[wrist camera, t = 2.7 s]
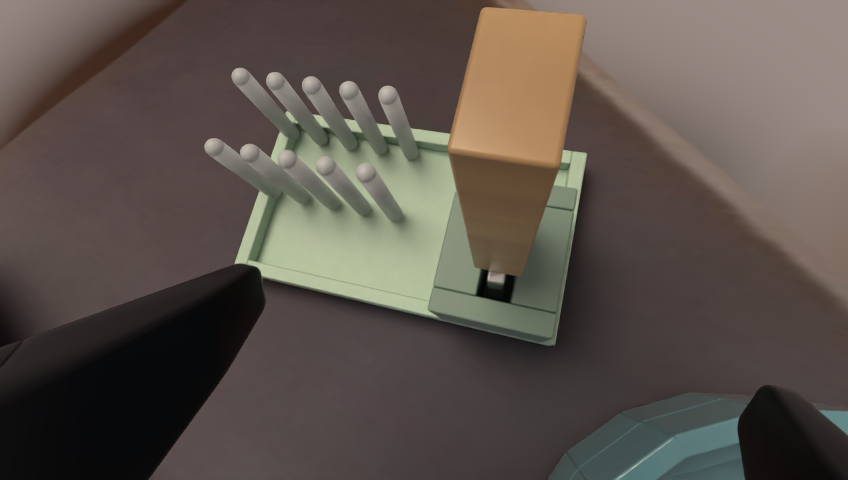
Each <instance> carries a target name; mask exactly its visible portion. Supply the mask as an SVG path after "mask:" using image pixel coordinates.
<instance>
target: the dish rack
mask: <svg viewBox="0 0 848 480" xmlns="http://www.w3.org/2000/svg"><path fill="white" fill-rule="evenodd" d="M232 80H233V82H234V83H235V85H236V86H237V87H238V88H239V89H240V90H241V91H242V92H243V93H244V94H245V95H246V96H247V97H248V98H249V99H250V100H251V101H252V102H253V103H254V104H255V105H256V106H257V107H258V109H259V110H260V111H261V112H262V113H263V114H264V115H265V116H266V117H267V118H268V119H269V120H270V121H271V122H272V123H273V124H274V125H275V126H276V127H277V128H278V129H279V130H280V132H279V135H278V138H277V141H276V144H275V147H274V150H273V153H272V156H271V158H270V157H268V156H267V155H266V154H265V153H264V152H263V151H262V150H260V149H259V148H258V147H257V146H255V145H253V144H247V145H244V146H243V147H242V148H241V151H240V155H241V156H240V155H239V154H238V153H236V152H235V151H234V150H233V149H231V148H230V147H229V146H228V145H226V144H225V143H224V142H222V141H221V140H219V139H217V138H211V139H209V140H208V141H207V142H206V143H205V151H206V153H207V154H208V155H210V156H211V157H212V158H214V159H215V160H217V161H218V162H220V163H221V164H222V165H224V166H225V167H227V168H228V169H230V170H231V171H232V172H234V173H235V174H237V175H238V176H240V177H241V178H242V179H244V180H245V181H247V182H248V183H250V184H251V185H252V186H254V187H255V188H257V189H258V190H260V191H259V194H258V197H257V199H256V202H255V205H254V208H253V211H252V214H251V217H250V220H249V223H248V226H247V229H246V232H245V235H244V237H243V240H242V243H241V246H240V249H239V252H238V255H237V258H236V261H235V264H238V263H243V264H247V265H252V266H255V267H257V268H259V270H260V271H261V275H262V279H266V280H271V281H275V282H279V283H283V284H288V285H292V286H296V287H300V288H305V289H309V290H313V291H317V292H322V293H326V294H330V295H334V296H339V297H343V298H347V299H351V300H355V301H360V302H364V303H368V304H372V305H377V306H381V307H385V308H389V309H394V310H398V311H402V312H406V313H411V314H415V315H419V316H423V317H428V318H432V319H436V320H440V321H445V322H449V323H453V324H457V325H462V326H466V327H470V328H474V329H479V330H483V331H487V332H491V333H496V334H500V335H504V336H508V337H513V338H517V339H521V340H525V341H530V342H534V343H538V344H542V345H547V346H552V345H555V343H556V337H557V331H558V325H559V319H560V313H561V307H562V301H563V295H564V289H565V283H566V277H567V271H568V265H569V259H570V254H571V248H572V242H573V236H574V230H575V224H576V218H577V212H578V206H579V200H580V194H581V188H582V182H583V176H584V170H585V164H586V158H587V153H581V152H572V151H567V150H563V154H562V160H561V165H560V168H559V171H558V174H557V177H556V180H555V182H554V185H553V188H552V191H551V194H550V197H549V200H548V202H547V205H546V208H545V211H544V214H543V217H542V220H541V223H540V225H539V228H538V231H537V234H536V237H535V240H534V243H533V246H532V248H531V251H530V254H529V257H528V260H527V263H526V266H525V268H524V271H523V274H522V276H520V277H518V276H513V275H508V274H507V278H506V283H505V288H504V293H503V298H502V302H501V301H496V300H492V299H489V295H488V285H487V277H488V272H489V270H484V269H479V268H475V267H474V264H473V260H472V255H471V251H470V247H469V242H468V238H467V234H466V229H465V225H464V221H463V216H462V212H461V208H460V203H459V199H458V195H457V190H456V186H455V182H454V177H453V173H452V169H451V164H450V160H449V156H448V151H447V146H448V142H449V138H450V134H447V133H440V132H433V131H426V130H419V129H412V128H410V125H409V123H408V120H407V117H406V115H405V112H404V109H403V107H402V104H401V101H400V98H399V96H398V93H397V91H396V89H395V88H393V87H391V86H384V87H383V88H381V89H380V91H379V94H378V98H379V101H380V103H381V105H382V107H383V110H384V112H385V114H386V116H387V119H388V121H389V123H390V125H391V126H390V125H383V124H377V123H376V121H375V119H374V118H373V116H372V114H371V112H370V110H369V108H368V106H367V104H366V102H365V100H364V98H363V96H362V94H361V92H360V90H359V88H358V86H357V85H356V84H355V83H354V82H352V81H346V82H344V83H343V84H342V85H341V86H340V95H341V97H342V99H343V100H344V102H345V104H346V105H347V107H348V109H349V110H350V112H351V114H352V116H353V117H354V119H355V120H348V119H344V118H343V117H342V115H341V114H340V112H339V111H338V109H337V107H336V106H335V104H334V103H333V101H332V100H331V98H330V96H329V95H328V93H327V92H326V90H325V89H324V87H323V86H322V84H321V82H320V81H319V80H318V79H317V78H315V77H307V78H305V79H304V81H303V83H302V88H303V91H304V92H305V94H306V95H307V96H308V98H309V99H310V101H311V102H312V103H313V105H314V106H315V108H316V109H317V110H318V112H319V113H320V114H321V116H320V115H313V114H312V113H311V112H310V111H309V110H308V108H307V107H306V106H305V104H304V103H303V102H302V100H301V99H300V98H299V96H298V95H297V94H296V92H295V91H294V90H293V88H292V87H291V86H290V84H289V83H288V82H287V80H286V79H285V78H284V77H283V75H281V74H280V73H278V72H272V73H270V74H269V75H268V76H267V79H266V83H267V86H268V87H269V89H270V90H271V91H272V92H273V93H274V95H275V96H276V97H277V98H278V99H279V100H280V102H281V103H282V104H283V105H284V106H285V108H286V109H287V110H288V111H287V112H286V114H285V113H284V112H283V111H282V110H281V109H280V108H279V106H278V105H277V104H276V103H275V102H274V101H273V99H272V98H271V97H270V96H269V95H268V94H267V93H266V91H265V90H264V89H263V88H262V87H261V86H260V84H259V83H258V82H257V81H256V80H255V79H254V78H253V76H252V75H251V74H250V73H249V72H248V71H247V70H246V69H244V68H237V69H235V70H234V71H233V72H232Z"/></svg>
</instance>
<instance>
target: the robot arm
mask: <svg viewBox="0 0 848 480" xmlns="http://www.w3.org/2000/svg"><path fill="white" fill-rule="evenodd" d="M265 303H266V297H265V291H264V286H263V280H262V275H261V271H260V270H259V268H257V267H255V266H252V265H247V264H243V263H238V264H234V265H231V266H229V267H226V268H223V269H220V270H217V271H215V272H212V273H209V274H206V275H203V276H200V277H198V278H195V279H192V280H189V281H186V282H184V283H181V284H178V285H175V286H172V287H169V288H167V289H164V290H161V291H158V292H155V293H153V294H150V295H147V296H144V297H141V298H138V299H136V300H133V301H130V302H127V303H124V304H122V305H119V306H116V307H113V308H110V309H107V310H105V311H102V312H99V313H96V314H93V315H91V316H88V317H85V318H82V319H79V320H76V321H74V322H71V323H68V324H65V325H62V326H59V327H57V328H54V329H51V330H48V331H45V332H43V333H40V334H37V335H34V336H31V337H28V338H26V339H25V340H24V341H17V342H14V343H11V344H8V345H6V346H3V347H0V480H148V479H149V478H150V477H151V475H152V474H153V473H154V471H155V470H156V469H157V467H158V466H159V464H160V463H161V462H162V460H163V459H164V458H165V456H166V455H167V453H168V452H169V451H170V449H171V448H172V447H173V445H174V444H175V443H176V441H177V440H178V438H179V437H180V436H181V434H182V433H183V432H184V430H185V429H186V428H187V426H188V425H189V423H190V422H191V421H192V419H193V418H194V417H195V415H196V414H197V412H198V411H199V410H200V408H201V407H202V406H203V404H204V403H205V402H206V400H207V399H208V397H209V396H210V395H211V393H212V392H213V391H214V389H215V388H216V387H217V385H218V384H219V382H220V381H221V379H222V378H223V377H224V375H225V374H226V372H227V371H228V369H229V367H230V366H231V364H232V363H233V361H234V359H235V358H236V356H237V354H238V352H239V351H240V349H241V347H242V346H243V344H244V342H245V341H246V339H247V337H248V335H249V334H250V332H251V330H252V329H253V327H254V325H255V324H256V322H257V320H258V318H259V317H260V315H261V313H262V312H263V310H264V307H265ZM737 431H738V438H739V445H740V451H741V458H742V464H743V471H744V477H745V480H848V435H847V434H846V433H845V432H844V431H842V430H841V429H840V428H839V427H838V426H837V425H835V424H834V423H833V422H832V421H831V420H830V419H828V418H827V417H826V416H825V415H824V414H822V413H821V412H820V411H819V410H818V409H817V408H815V407H814V406H813V405H812V404H811V403H810V402H808V401H807V400H806V399H805V398H804V397H802V396H801V395H800V394H799V393H797V392H795V391H792V390H788V389H784V388H780V387H775V386H771V385H765V386H763V387H761V388H760V389H759V390H758V391H757V392H756V394H755V395H754V397H753V398H752V399H751V401H750V402H749V404H748V405H747V407H746V408H745V409H744V411H743V412H742V414H741V415H740V417H739V420H738V426H737Z"/></svg>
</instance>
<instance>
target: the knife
mask: <svg viewBox="0 0 848 480" xmlns="http://www.w3.org/2000/svg"><path fill="white" fill-rule="evenodd" d="M585 27H586V18H585V16H584V15H580V14H568V13H554V12H542V11H529V10H516V9H503V8H490V7H486V8H483V9H482V11H481V13H480V16H479V20H478V24H477V28H476V32H475V36H474V40H473V44H472V48H471V52H470V56H469V60H468V64H467V68H466V73H465V77H464V81H463V85H462V89H461V93H460V97H459V101H458V105H457V109H456V113H455V117H454V121H453V125H452V129H451V134H450V138H449V142H448V146H447V151H448V156H449V160H450V164H451V169H452V173H453V177H454V182H455V186H456V190H457V195H458V199H459V203H460V208H461V212H462V216H463V221H464V225H465V229H466V234H467V238H468V242H469V247H470V251H471V255H472V260H473V264H474V267H475V268H479V269H484V270H489V272H488V277H487V285H488V295H489V299H492V300H496V301H501V302H502V298H503V293H504V288H505V283H506V278H507V274H508V275H513V276H518V277H520V276H522V274H523V271H524V268H525V266H526V263H527V260H528V257H529V254H530V251H531V248H532V246H533V243H534V240H535V237H536V234H537V231H538V228H539V225H540V223H541V220H542V217H543V214H544V211H545V208H546V205H547V202H548V200H549V197H550V194H551V191H552V188H553V185H554V182H555V180H556V177H557V174H558V171H559V168H560V165H561V160H562V154H563V149H564V143H565V138H566V132H567V127H568V121H569V116H570V110H571V105H572V99H573V94H574V88H575V83H576V77H577V71H578V66H579V60H580V55H581V49H582V43H583V38H584V32H585Z"/></svg>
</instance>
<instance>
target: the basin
mask: <svg viewBox="0 0 848 480" xmlns="http://www.w3.org/2000/svg"><path fill="white" fill-rule="evenodd" d="M753 397H754V395H749V394H724V393H700V392H690V393H684V394H681V395H677V396H674V397H670V398H667V399H663V400H660V401H656V402H653V403H649V404H646V405H642V406H639V407H635V408H632V409H628V410H625V411H622V413H619V414H618V415H616V416H615V417H613V418H612V419H611V420H609V421H608V422H607V423H605V424H604V425H602V426H601V427H600V428H598V429H597V430H596V431H594V432H593V433H591V434H590V435H589V436H587V437H586V438H585V439H583V440H582V441H580V442H579V443H578V444H576V445H575V446H574V447H572V448H571V449H569V450H568V451H567V453H565V454H564V455H563V457H562V458H561V460H560V461H559V462H558V464H557V465H556V467H555V468H554V470H553V471H552V473H551V474H550V476H549V477H548V479H547V480H745V477H744V471H743V464H742V458H741V451H740V445H739V438H738V431H737V426H738V420H739V417H740V415H741V414H742V412H743V411H744V409H745V408H746V407H747V405H748V404H749V402H750V401H751V399H752V398H753ZM810 403H811V404H812V405H813V406H814V407H815V408H817V409H818V410H819V411H820V412H821V413H822V414H824V415H825V416H826V417H827V418H828V419H830V420H831V421H832V422H833V423H834V424H835V425H837V426H838V427H839V428H840V429H841V430H842V431H844V432H845V433H846V434H847V435H848V407H841V406H834V405H828V404H821V403H814V402H810Z"/></svg>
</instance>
